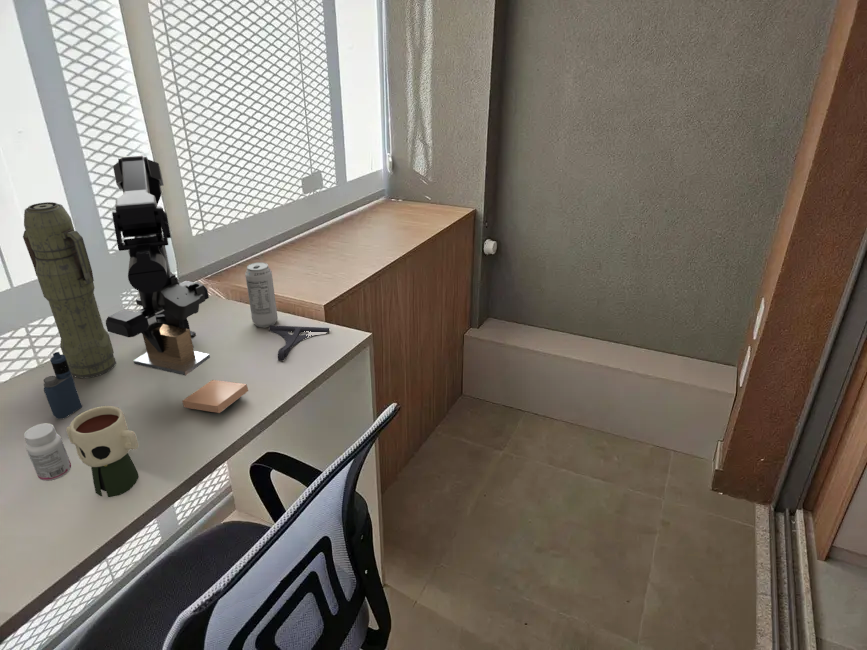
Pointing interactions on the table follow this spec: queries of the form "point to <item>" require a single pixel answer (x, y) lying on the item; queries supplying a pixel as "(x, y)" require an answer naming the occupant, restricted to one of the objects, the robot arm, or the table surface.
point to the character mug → (105, 448)
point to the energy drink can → (261, 294)
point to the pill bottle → (47, 452)
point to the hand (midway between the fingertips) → (169, 347)
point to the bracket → (292, 336)
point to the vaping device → (61, 388)
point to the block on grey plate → (172, 352)
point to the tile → (215, 396)
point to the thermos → (68, 288)
